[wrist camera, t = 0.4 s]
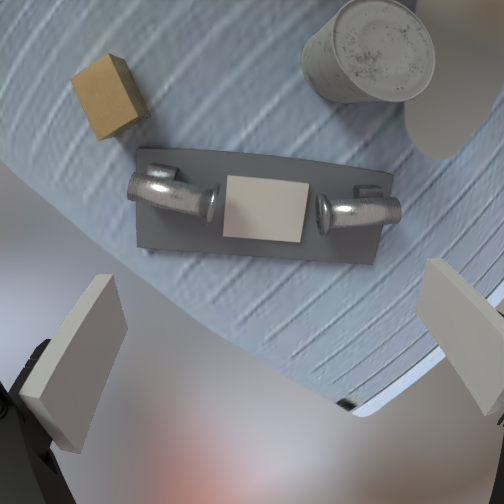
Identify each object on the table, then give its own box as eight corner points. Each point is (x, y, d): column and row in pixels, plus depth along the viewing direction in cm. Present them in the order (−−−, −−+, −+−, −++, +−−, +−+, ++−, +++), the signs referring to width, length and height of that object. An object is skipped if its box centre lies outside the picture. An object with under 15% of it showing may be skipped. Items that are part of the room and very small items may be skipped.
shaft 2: (383, 184, 35) (405, 196, 30) (382, 218, 37) (402, 235, 32) (312, 186, 35) (324, 200, 30) (312, 223, 37) (324, 242, 32)
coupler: (89, 81, 30) (69, 79, 25) (124, 59, 29) (108, 53, 25) (115, 136, 33) (98, 140, 29) (151, 115, 32) (137, 116, 28)
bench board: (139, 147, 34) (136, 148, 33) (389, 173, 36) (393, 175, 35) (139, 243, 39) (137, 247, 37) (369, 260, 41) (372, 265, 40)
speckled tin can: (297, 26, 29) (324, -11, 17) (375, 31, 28) (428, 6, 17) (304, 104, 32) (336, 100, 21) (382, 105, 32) (439, 106, 21)
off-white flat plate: (227, 175, 34) (227, 176, 34) (308, 183, 35) (309, 184, 35) (223, 234, 37) (222, 236, 37) (299, 240, 38) (299, 242, 37)
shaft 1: (138, 197, 35) (122, 212, 30) (145, 160, 33) (129, 169, 28) (213, 214, 36) (208, 232, 31) (222, 178, 34) (219, 190, 29)
